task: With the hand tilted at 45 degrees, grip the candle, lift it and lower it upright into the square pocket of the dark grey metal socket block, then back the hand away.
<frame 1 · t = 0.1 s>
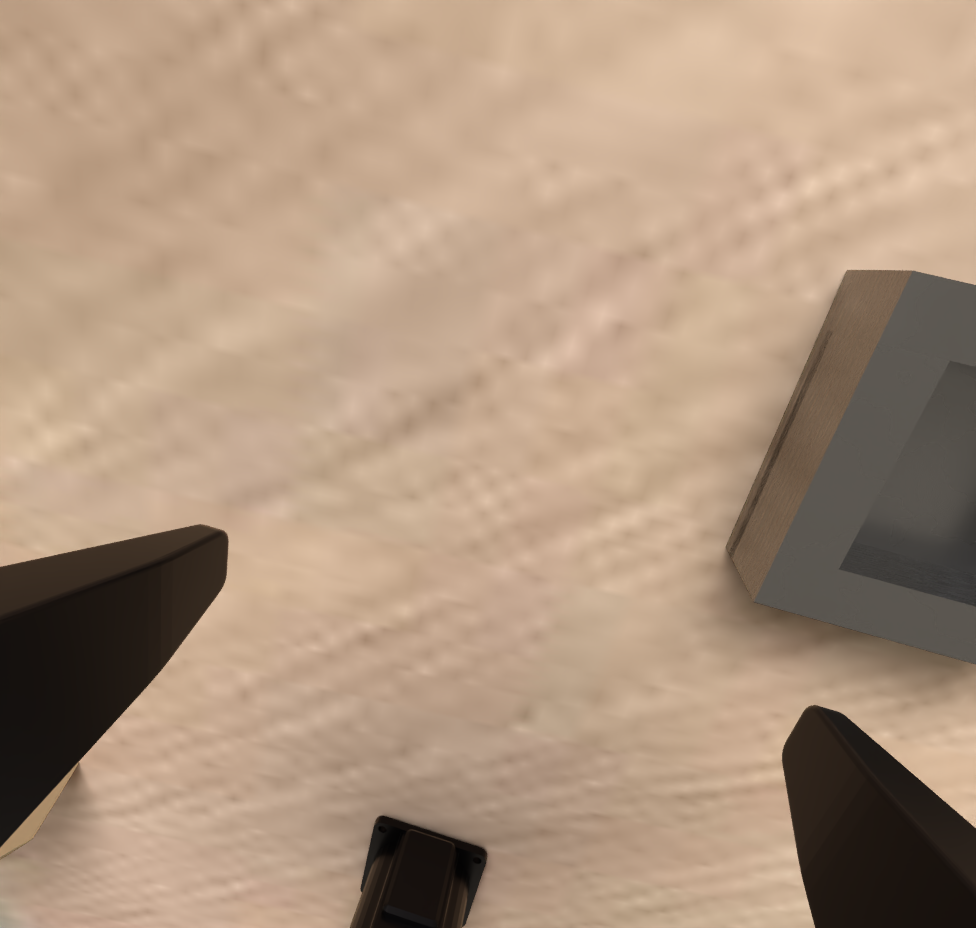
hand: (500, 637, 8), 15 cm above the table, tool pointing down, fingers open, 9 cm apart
socket block: (931, 460, 20), on the table
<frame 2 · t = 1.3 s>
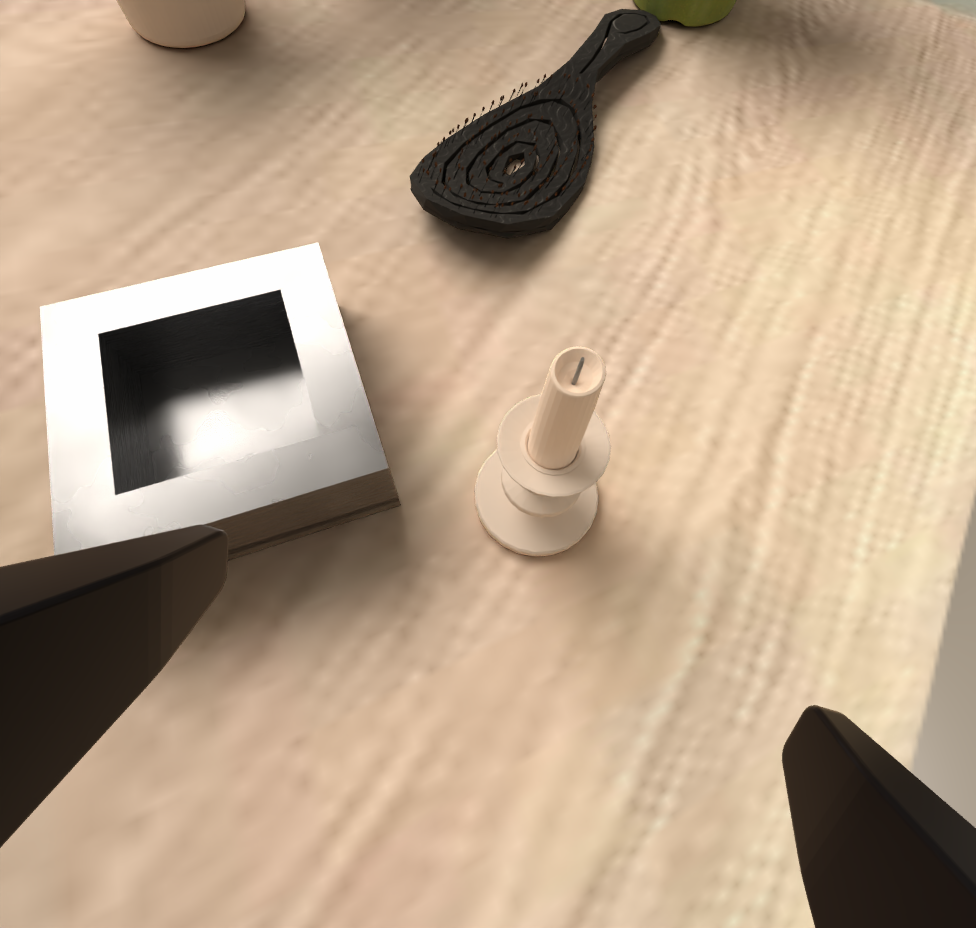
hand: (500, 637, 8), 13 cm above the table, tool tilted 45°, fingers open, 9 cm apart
socket block: (244, 431, 24), on the table
plant pot: (677, 2, 39), on the table
hairbrush: (556, 129, 34), on the table
coffee cup: (192, 21, 36), on the table
candle: (534, 498, 24), on the table
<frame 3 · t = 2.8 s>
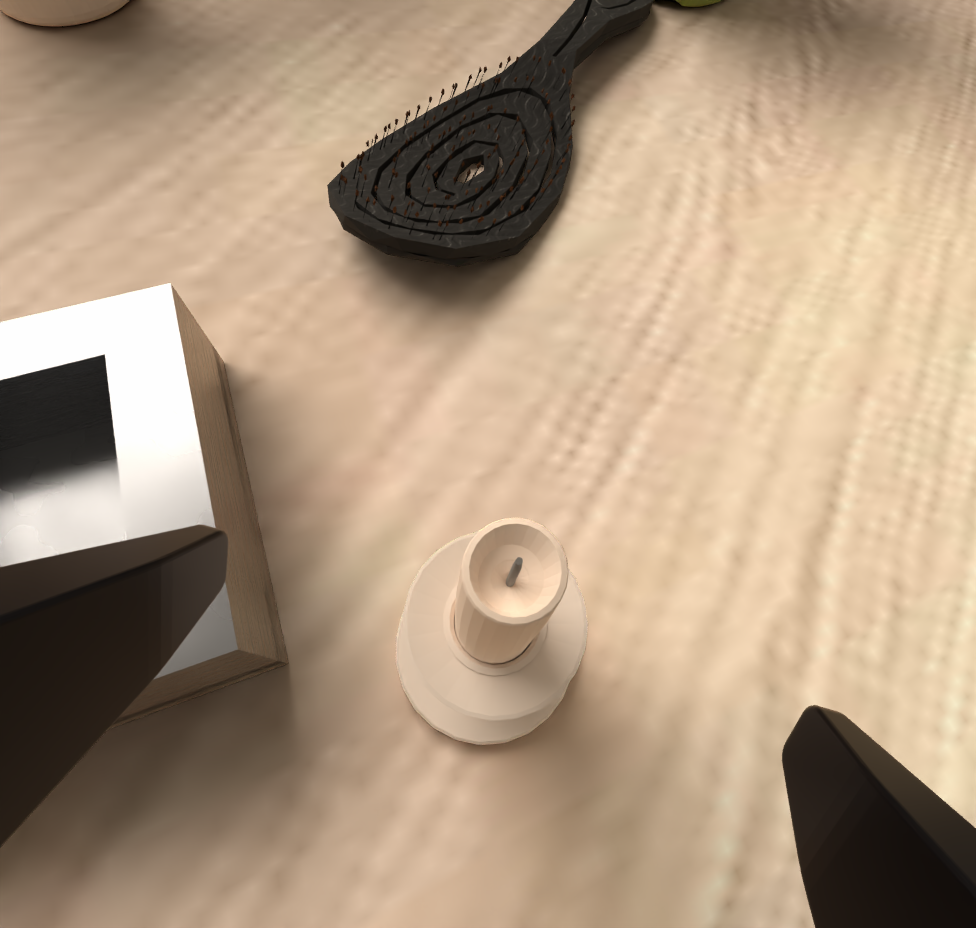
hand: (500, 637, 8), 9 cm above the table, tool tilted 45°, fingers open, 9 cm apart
socket block: (70, 550, 17), on the table
hairbrush: (526, 127, 27), on the table
candle: (484, 646, 17), on the table
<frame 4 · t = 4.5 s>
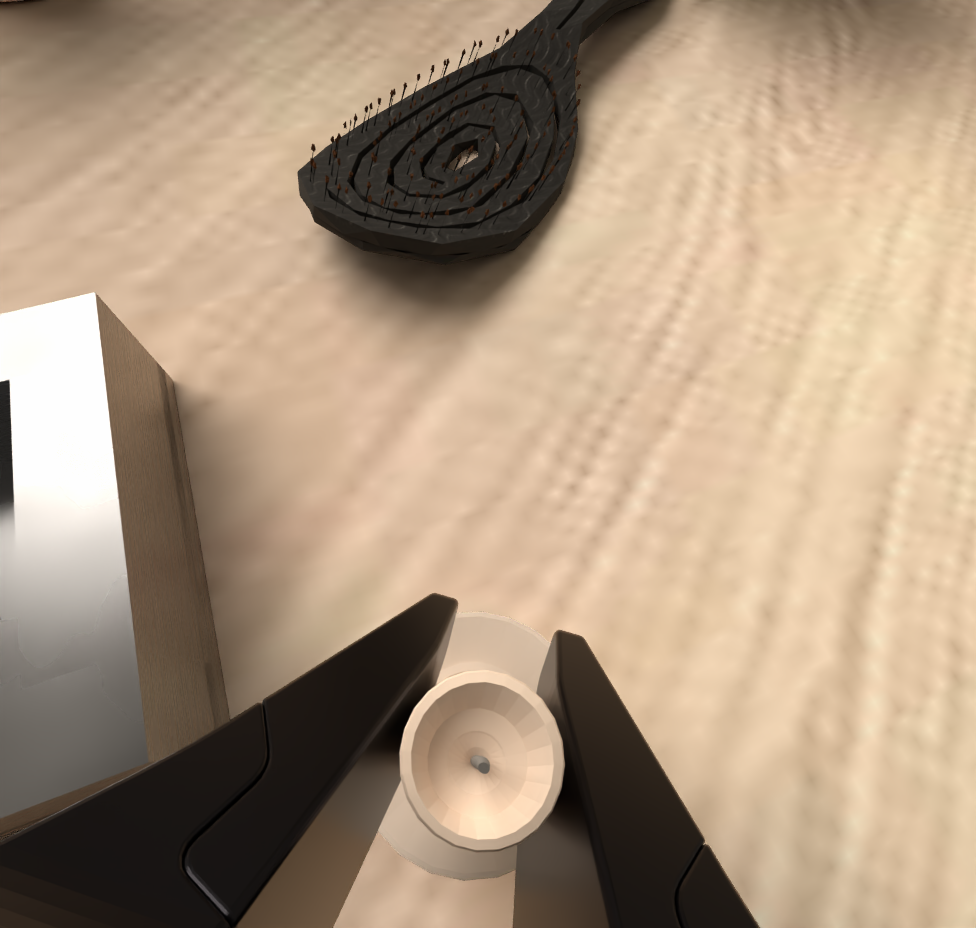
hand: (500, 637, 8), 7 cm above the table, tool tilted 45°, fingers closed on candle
hairbrush: (527, 109, 24), on the table
candle: (469, 724, 14), on the table, touching gripper
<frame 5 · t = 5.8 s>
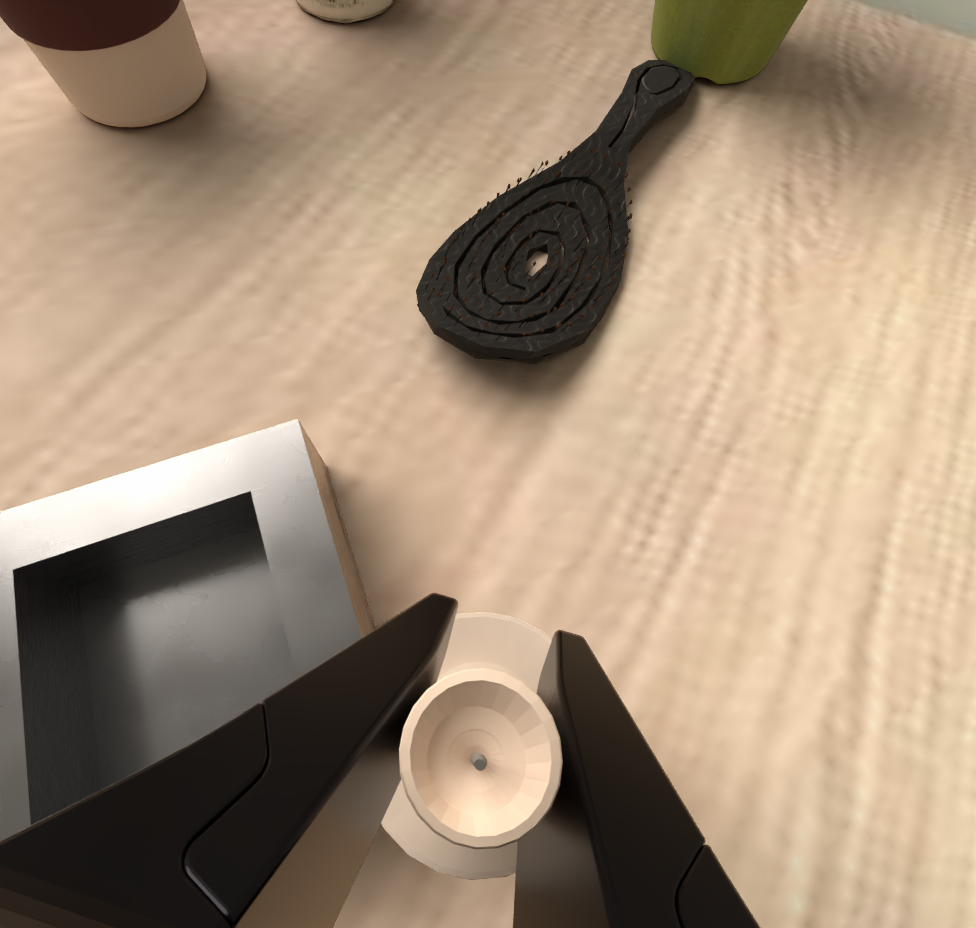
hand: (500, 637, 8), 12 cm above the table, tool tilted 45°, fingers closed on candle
socket block: (213, 650, 19), on the table
plant pot: (704, 53, 34), on the table
hairbrush: (581, 208, 29), on the table
coffee cup: (144, 91, 31), on the table
candle: (479, 724, 14), point 5 cm above the table, touching gripper
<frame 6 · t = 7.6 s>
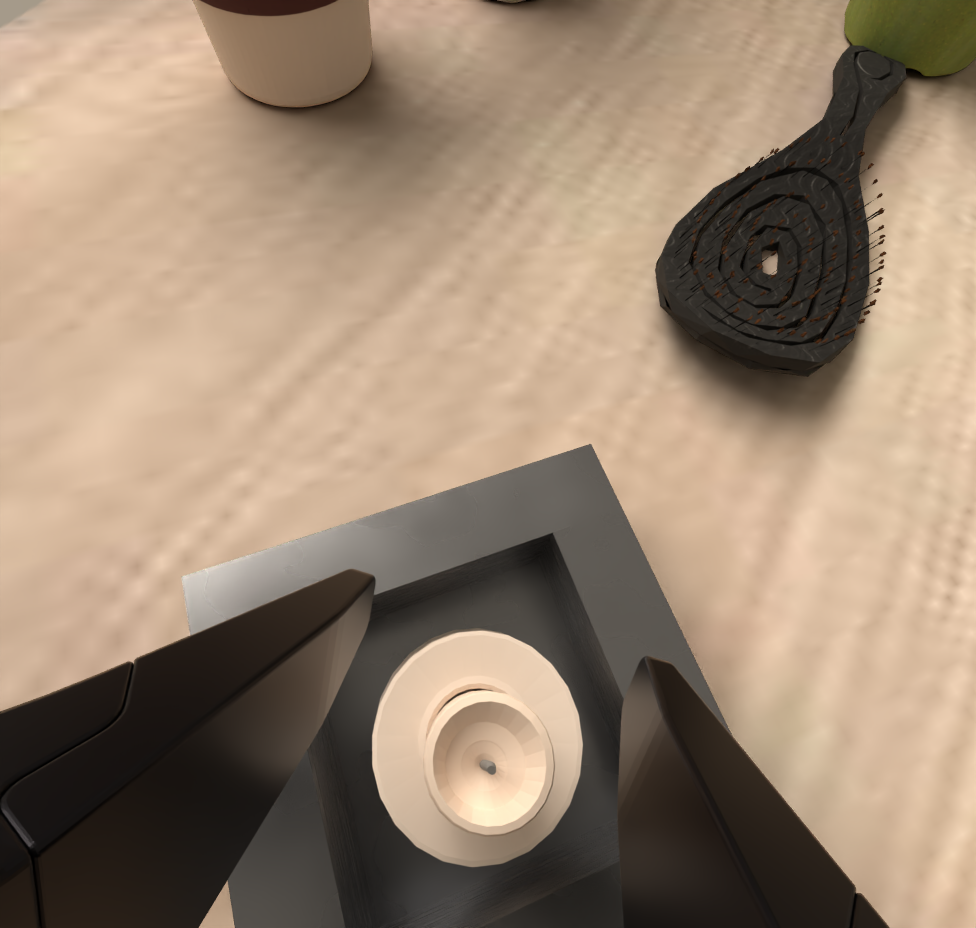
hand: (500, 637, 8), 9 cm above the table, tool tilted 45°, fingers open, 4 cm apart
socket block: (468, 720, 16), on the table
plant pot: (899, 44, 31), on the table
hairbrush: (796, 204, 26), on the table
coffee cup: (301, 69, 28), on the table
candle: (472, 728, 15), point 1 cm above the table, touching socket block
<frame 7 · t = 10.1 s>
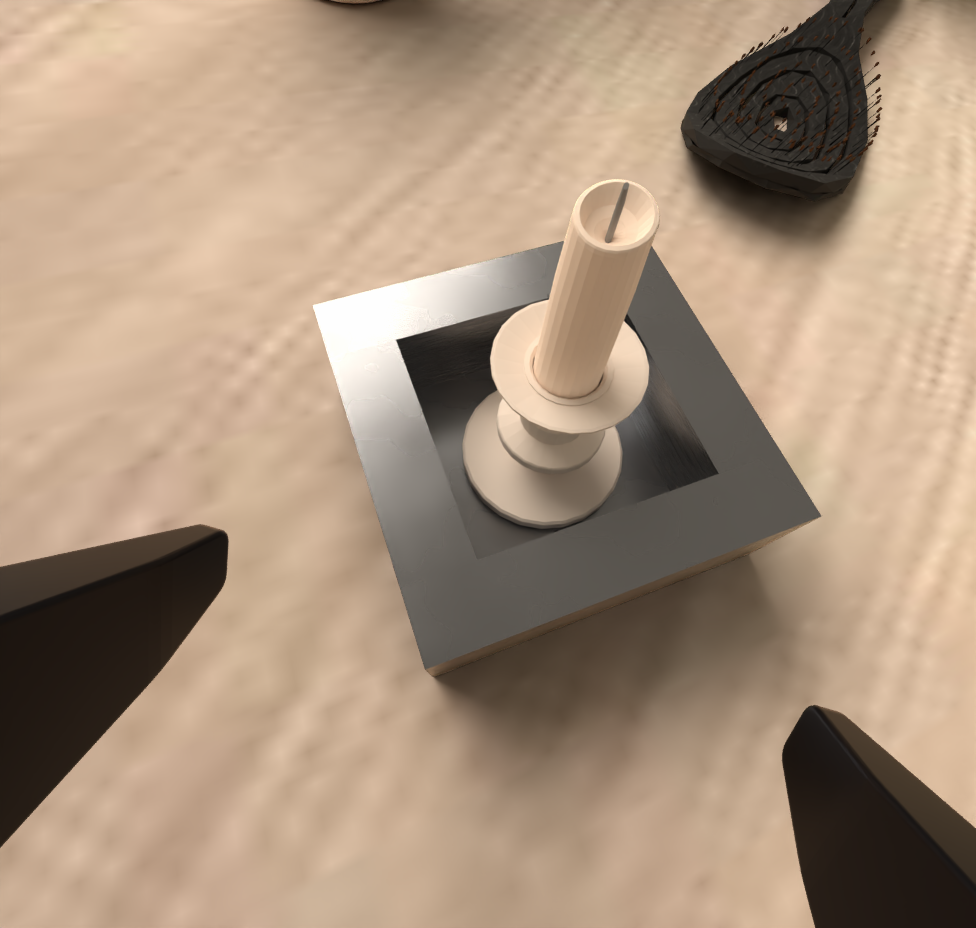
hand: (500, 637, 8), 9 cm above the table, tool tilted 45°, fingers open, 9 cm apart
socket block: (533, 460, 19), on the table
hairbrush: (803, 84, 29), on the table
candle: (540, 456, 19), point 1 cm above the table, touching socket block
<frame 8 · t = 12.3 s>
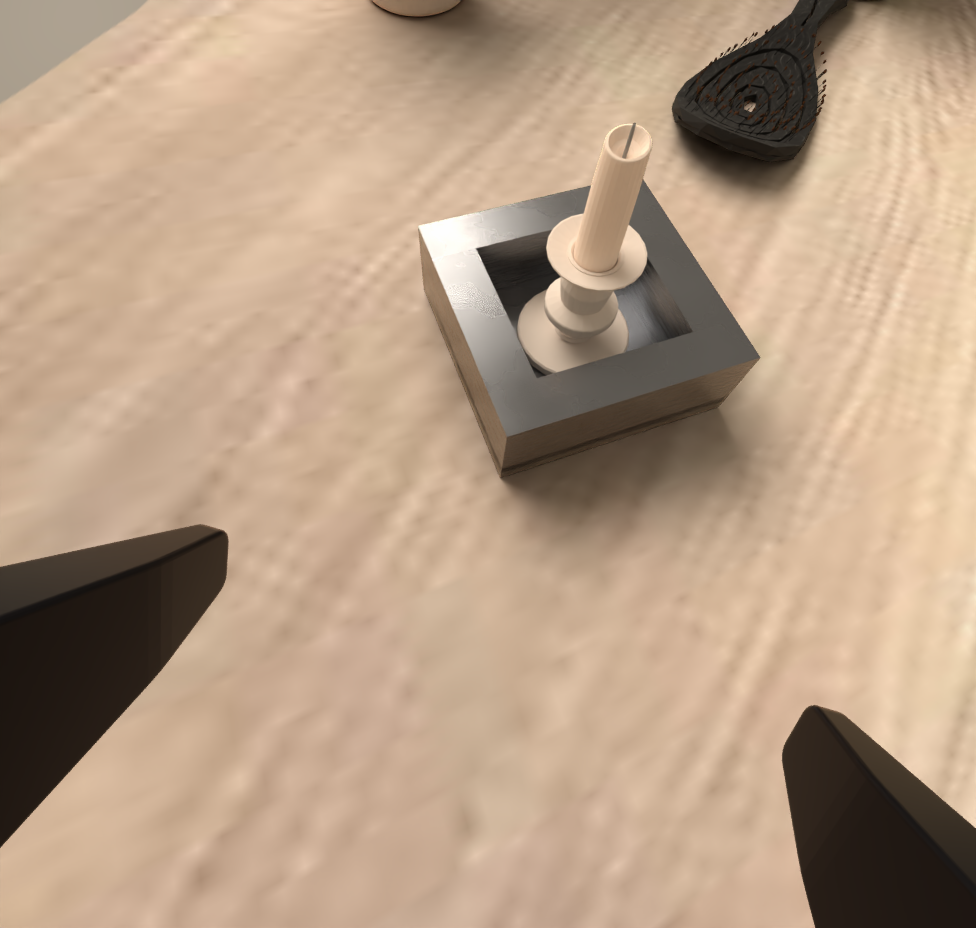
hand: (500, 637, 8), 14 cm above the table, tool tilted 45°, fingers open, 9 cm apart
socket block: (565, 345, 27), on the table
hairbrush: (771, 78, 37), on the table
candle: (570, 338, 26), point 1 cm above the table, touching socket block
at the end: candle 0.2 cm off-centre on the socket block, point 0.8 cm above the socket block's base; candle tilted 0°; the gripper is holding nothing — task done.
